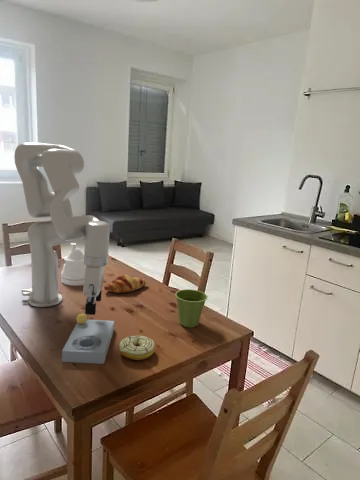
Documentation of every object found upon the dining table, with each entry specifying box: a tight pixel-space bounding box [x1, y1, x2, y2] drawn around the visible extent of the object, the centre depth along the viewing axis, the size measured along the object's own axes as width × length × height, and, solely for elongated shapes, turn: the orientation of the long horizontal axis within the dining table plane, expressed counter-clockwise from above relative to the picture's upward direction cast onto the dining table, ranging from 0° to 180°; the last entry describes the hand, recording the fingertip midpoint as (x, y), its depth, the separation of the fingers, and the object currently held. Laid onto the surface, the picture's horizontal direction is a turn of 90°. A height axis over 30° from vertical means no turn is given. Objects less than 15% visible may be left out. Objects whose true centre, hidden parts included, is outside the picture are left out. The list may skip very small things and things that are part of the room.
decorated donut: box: [119, 335, 156, 361], centre depth 109 cm, size 10×11×4 cm
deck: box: [61, 318, 115, 365], centre depth 112 cm, size 20×12×4 cm, turn 2°
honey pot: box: [60, 242, 86, 287], centre depth 160 cm, size 13×13×18 cm
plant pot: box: [174, 288, 209, 328], centre depth 130 cm, size 12×12×11 cm
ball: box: [76, 313, 88, 324], centre depth 118 cm, size 3×3×3 cm
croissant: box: [103, 274, 148, 294], centre depth 156 cm, size 21×10×8 cm
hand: (93, 307), depth 119 cm, fingers open, 9 cm apart
